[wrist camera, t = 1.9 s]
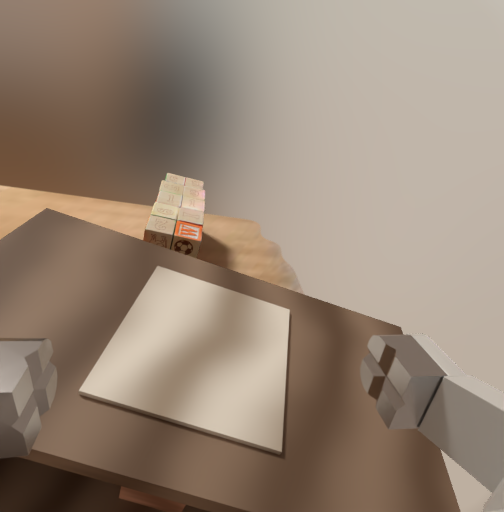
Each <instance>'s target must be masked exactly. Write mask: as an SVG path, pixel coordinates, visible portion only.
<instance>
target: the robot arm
mask: <svg viewBox="0 0 504 512" xmlns="http://www.w3.org/2000/svg"><path fill="white" fill-rule="evenodd" d="M367 347H368V350H369V352H370V353H369V354H368V355H367V356H366V357H364V358H363V360H362V364H361V367H360V375H361V381H362V384H363V387H364V388H365V390H366V392H367V394H369V395H370V396H371V397H373V398H374V399H376V400H377V401H376V407H375V408H376V409H377V411H378V413H379V414H380V416H381V418H382V419H383V421H384V423H385V425H386V426H387V428H388V430H389V429H414V428H419V429H418V430H419V431H420V432H421V433H422V434H423V435H424V436H426V437H427V438H428V439H429V440H430V441H432V442H433V443H434V444H435V445H436V446H437V447H439V448H440V449H441V450H442V451H443V452H445V453H446V454H447V455H448V456H449V457H450V458H452V459H453V460H454V461H455V462H456V463H457V464H459V465H460V466H461V467H462V468H463V469H465V470H466V471H467V472H468V473H469V474H470V475H472V476H473V477H474V478H475V479H476V480H478V481H479V482H480V483H481V484H482V485H483V486H485V487H486V488H487V489H488V490H489V491H491V492H492V495H491V496H490V498H489V499H488V501H487V502H486V503H485V505H484V509H483V512H504V392H502V391H500V390H498V389H497V388H495V387H493V386H491V385H489V384H487V383H485V382H483V381H482V380H480V379H478V378H476V377H474V376H467V375H466V374H465V373H464V372H463V371H462V370H461V369H460V368H459V367H458V366H457V365H456V364H455V363H454V362H453V361H452V360H451V359H450V358H449V357H448V356H447V355H446V354H445V353H444V352H443V351H442V349H441V348H440V347H438V345H437V344H436V343H435V342H434V341H433V340H432V339H431V338H430V337H429V336H427V335H425V334H406V335H373V336H372V337H371V338H370V340H369V343H368V345H367ZM52 354H53V348H52V343H51V341H50V340H49V339H47V338H0V458H10V457H20V456H29V453H30V451H31V449H32V447H33V445H34V442H35V440H36V438H37V436H38V434H39V431H40V429H41V427H42V426H41V421H40V416H41V415H43V414H44V413H45V412H46V411H48V410H49V409H50V407H51V404H52V402H53V400H54V397H55V392H56V388H57V370H56V367H55V366H54V365H53V364H52V363H51V362H50V361H49V360H50V358H51V356H52Z"/></svg>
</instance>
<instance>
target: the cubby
mask: <svg viewBox="0 0 504 512" xmlns="http://www.w3.org/2000/svg"><path fill="white" fill-rule="evenodd" d="M373 335H403V333H402V330H401V327H398V326H396V325H393V324H389V323H386V322H383V321H381V320H378V319H375V318H372V317H369V316H366V315H363V314H360V313H357V312H354V311H351V310H348V309H345V308H342V307H339V306H336V305H333V304H330V303H327V302H324V301H321V300H318V299H315V298H312V297H309V296H306V295H303V294H300V293H298V292H295V291H292V290H289V289H286V288H283V287H280V286H277V285H274V284H271V283H268V282H265V281H262V280H259V279H256V278H253V277H250V276H247V275H244V274H241V273H238V272H235V271H232V270H229V269H226V268H223V267H220V266H217V265H214V264H211V263H208V262H205V261H202V260H199V259H196V258H193V257H191V256H188V255H185V254H182V253H179V252H176V251H173V250H170V249H167V248H164V247H161V246H158V245H155V244H152V243H149V242H146V241H143V240H140V239H137V238H134V237H131V236H128V235H125V234H122V233H119V232H116V231H113V230H110V229H107V228H104V227H101V226H98V225H95V224H92V223H89V222H86V221H84V220H81V219H78V218H75V217H72V216H69V215H66V214H63V213H60V212H57V211H54V210H51V209H48V208H46V209H45V210H43V211H42V212H40V213H39V214H37V215H36V216H34V217H33V218H31V219H30V220H28V221H27V222H26V223H24V224H23V225H21V226H20V227H18V228H17V229H15V230H14V231H12V232H11V233H9V234H8V235H6V236H5V237H3V238H2V239H1V240H0V338H47V339H49V340H50V341H51V343H52V348H53V354H52V356H51V358H50V360H49V361H50V362H51V363H52V364H53V365H54V366H55V367H56V370H57V388H56V392H55V397H54V400H53V402H52V404H51V407H50V409H49V410H48V411H46V412H45V413H44V414H43V415H41V416H40V421H41V426H42V427H41V429H40V431H39V434H38V436H37V438H36V440H35V442H34V445H33V447H32V449H31V451H30V453H29V456H20V457H10V458H0V512H166V511H162V510H159V509H155V508H152V507H148V506H145V505H141V504H138V503H134V502H131V501H127V500H124V499H120V498H119V494H120V489H121V486H122V487H126V488H129V489H133V490H136V491H140V492H143V493H147V494H150V495H154V496H157V497H161V498H164V499H168V500H171V501H175V502H178V503H182V504H185V507H184V509H183V511H182V512H460V509H459V506H458V503H457V499H456V496H455V493H454V490H453V488H452V484H451V481H450V478H449V475H448V472H447V469H446V466H445V463H444V459H443V456H442V453H441V450H440V448H439V447H437V446H436V445H435V444H434V443H433V442H432V441H430V440H429V439H428V438H427V437H426V436H424V435H423V434H422V433H421V432H420V431H419V430H418V429H419V428H414V429H389V430H388V428H387V426H386V425H385V423H384V421H383V419H382V418H381V416H380V414H379V413H378V411H377V409H376V408H375V407H376V401H377V400H376V399H374V398H373V397H371V396H370V395H369V394H367V392H366V390H365V388H364V387H363V384H362V381H361V375H360V367H361V364H362V360H363V358H364V357H366V356H367V355H368V354H369V353H370V352H369V350H368V347H367V345H368V343H369V340H370V338H371V337H372V336H373Z"/></svg>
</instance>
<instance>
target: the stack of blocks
mask: <svg viewBox="0 0 504 512" xmlns="http://www.w3.org/2000/svg"><path fill="white" fill-rule="evenodd" d="M203 183H204V182H202V181H198V180H195V179H191V178H187V177H186V178H185V177H182V176H178V175H174V174H170V173H167V175H166V179H165V181H163V180H162V182H161V185H160V189H159V193H158V197H157V200H156V202H155V203H154V206H153V209H152V212H151V215H150V216H149V219H148V222H147V225H146V227H145V233H144V240H143V241H146V242H149V243H152V244H155V245H158V246H161V247H164V248H167V249H170V250H173V251H176V252H179V253H182V254H185V255H188V256H191V257H193V258H196V257H197V254H198V251H199V248H200V244H201V240H202V228H203V219H204V211H205V202H204V201H205V190H203Z"/></svg>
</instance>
